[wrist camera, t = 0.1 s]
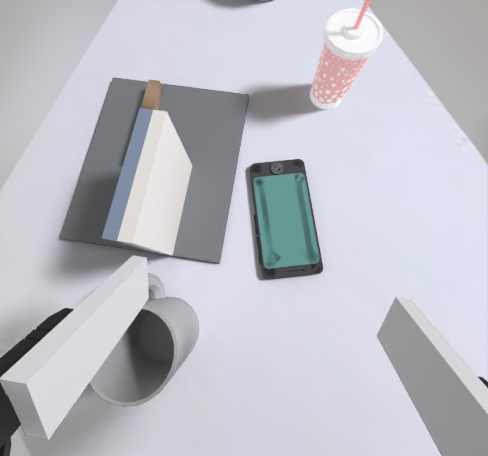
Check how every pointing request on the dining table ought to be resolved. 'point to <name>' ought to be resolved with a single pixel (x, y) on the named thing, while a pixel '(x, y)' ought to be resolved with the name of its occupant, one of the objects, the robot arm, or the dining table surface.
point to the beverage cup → (344, 54)
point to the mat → (196, 146)
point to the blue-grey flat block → (150, 186)
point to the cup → (148, 350)
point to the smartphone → (284, 220)
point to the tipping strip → (152, 95)
